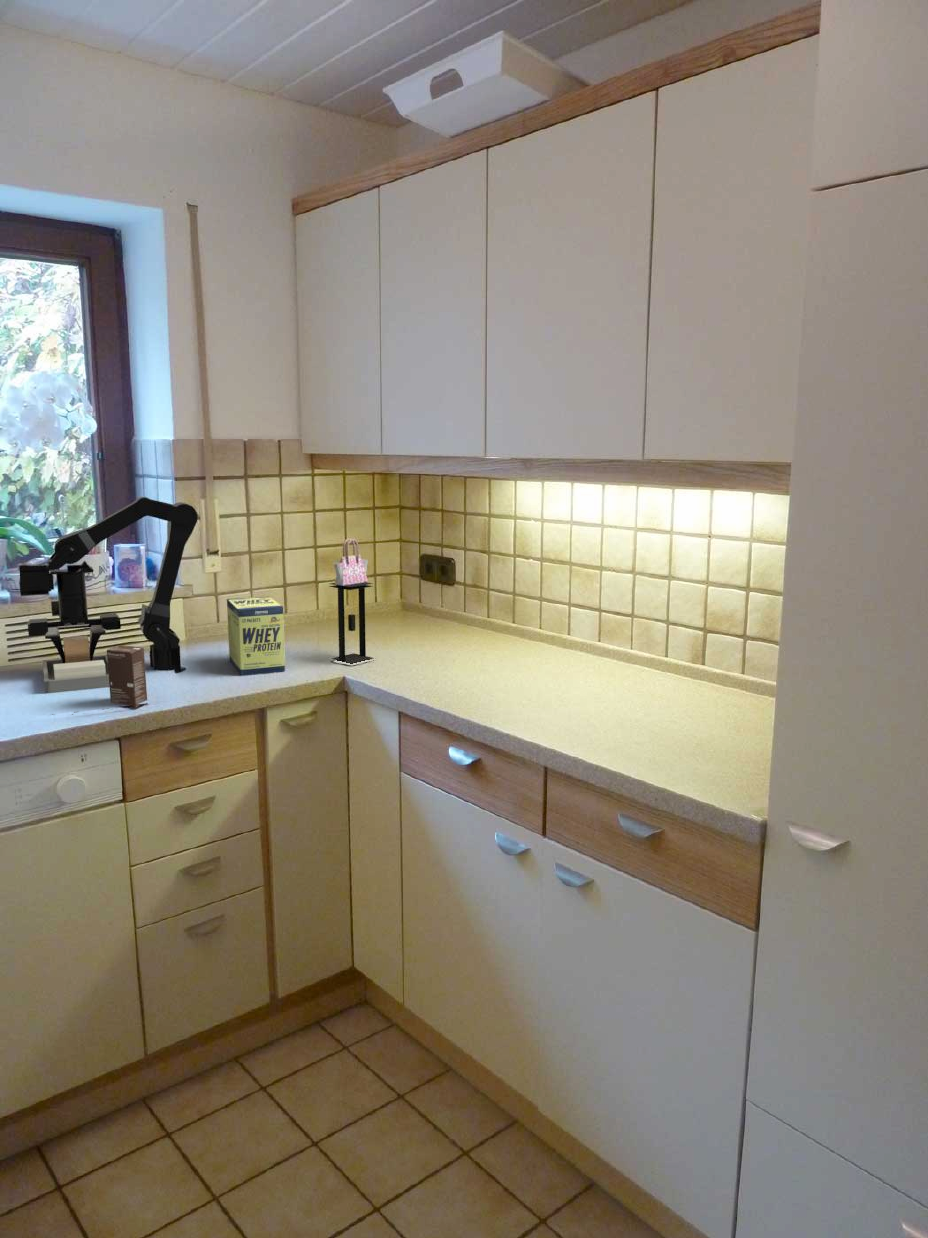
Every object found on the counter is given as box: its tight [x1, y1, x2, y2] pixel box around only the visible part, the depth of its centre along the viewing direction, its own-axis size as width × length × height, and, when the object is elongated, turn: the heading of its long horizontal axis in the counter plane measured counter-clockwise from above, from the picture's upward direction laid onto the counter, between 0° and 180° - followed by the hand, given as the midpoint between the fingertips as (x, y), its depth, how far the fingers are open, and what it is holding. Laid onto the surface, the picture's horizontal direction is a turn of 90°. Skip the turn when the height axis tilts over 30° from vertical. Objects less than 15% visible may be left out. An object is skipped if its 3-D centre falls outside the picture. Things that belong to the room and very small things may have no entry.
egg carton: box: [53, 660, 106, 680], centre depth 198 cm, size 5×10×4 cm, turn 115°
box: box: [106, 644, 148, 710], centre depth 186 cm, size 6×4×12 cm
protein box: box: [226, 596, 286, 677], centre depth 218 cm, size 10×16×16 cm
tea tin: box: [62, 635, 90, 663], centre depth 205 cm, size 5×5×7 cm
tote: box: [42, 654, 110, 695], centre depth 204 cm, size 20×14×4 cm
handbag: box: [328, 538, 375, 664], centre depth 222 cm, size 10×8×30 cm
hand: (77, 662), depth 206 cm, fingers closed on tea tin, 5 cm apart
